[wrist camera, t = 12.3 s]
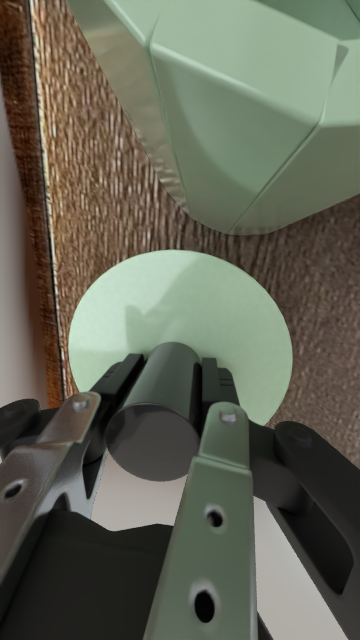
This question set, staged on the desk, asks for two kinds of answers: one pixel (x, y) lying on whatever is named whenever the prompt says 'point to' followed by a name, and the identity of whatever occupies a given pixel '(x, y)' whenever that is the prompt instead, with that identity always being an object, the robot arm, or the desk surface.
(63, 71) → the desk surface
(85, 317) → the lid
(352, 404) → the desk surface
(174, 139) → the canister
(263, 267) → the desk surface
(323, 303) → the desk surface
